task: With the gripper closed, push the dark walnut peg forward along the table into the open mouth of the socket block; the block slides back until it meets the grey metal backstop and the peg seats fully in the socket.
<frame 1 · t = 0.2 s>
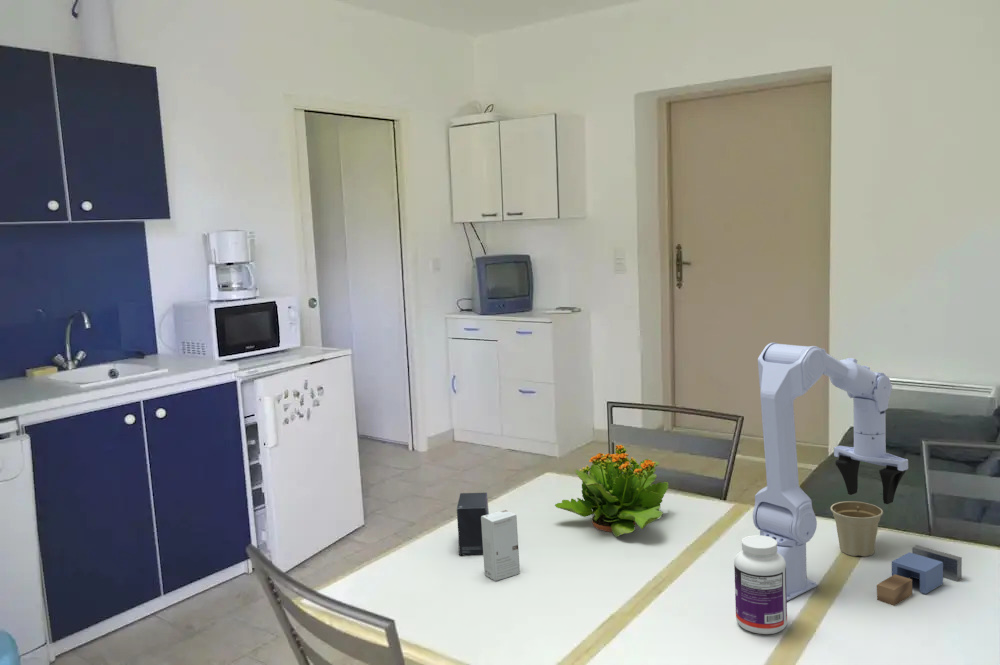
hand: (870, 498, 157), 10 cm above the table, tool pointing down, fingers open, 7 cm apart
skincare box: (502, 574, 156), on the table
flower pot: (856, 552, 156), on the table
small box: (475, 546, 171), on the table
backstop: (936, 573, 144), on the table
socket block: (917, 572, 140), point 2 cm above the table, slide at 0.0 cm
pill bottle: (761, 626, 130), on the table
potted flower: (611, 524, 179), on the table
walnut peg: (894, 598, 136), on the table
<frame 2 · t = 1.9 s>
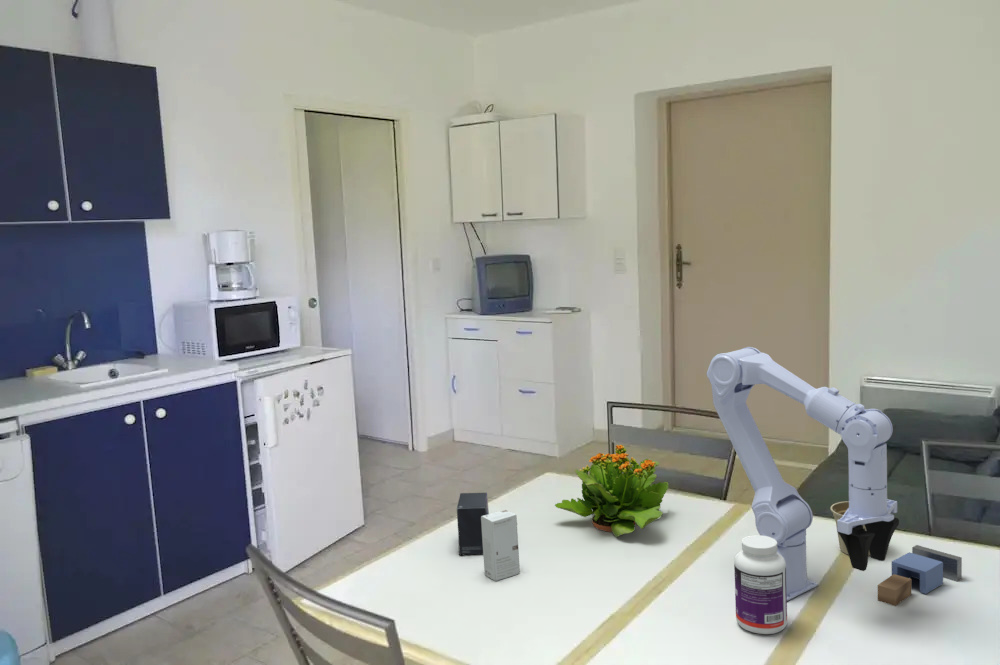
hand: (868, 563, 131), 8 cm above the table, tool pointing down, fingers open, 5 cm apart
nothing on the table moved.
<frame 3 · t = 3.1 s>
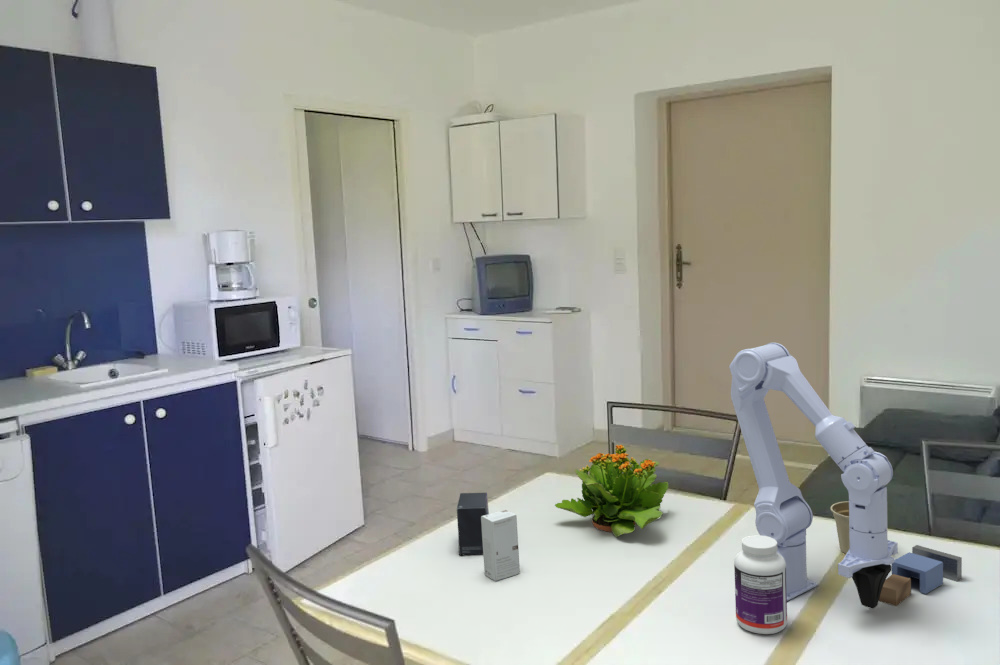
hand: (869, 605, 131), 1 cm above the table, tool pointing down, fingers closed
nothing on the table moved.
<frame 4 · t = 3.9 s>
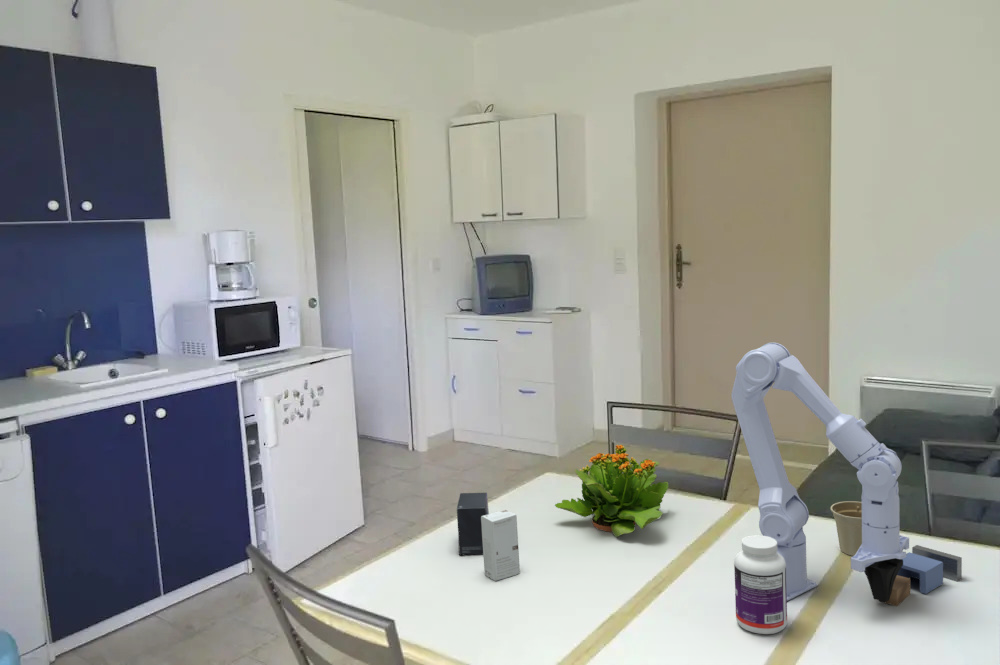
hand: (881, 599, 133), 1 cm above the table, tool pointing down, fingers closed
walnut peg: (894, 598, 136), on the table, touching gripper
everything else where it was.
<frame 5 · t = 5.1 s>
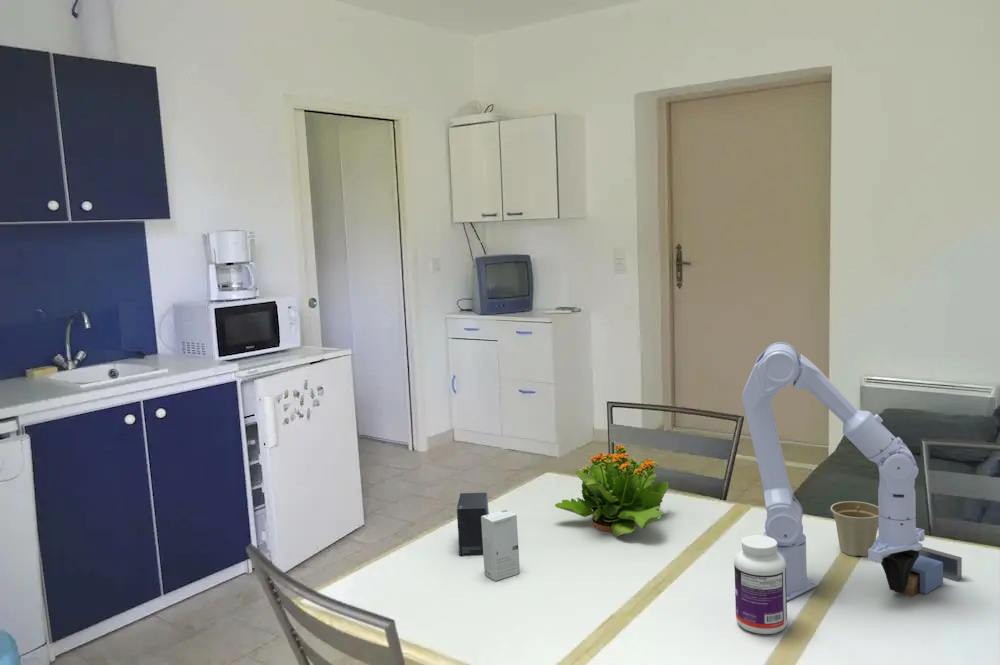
hand: (897, 590, 136), 1 cm above the table, tool pointing down, fingers closed
walnut peg: (910, 588, 139), on the table, touching gripper
everything else where it was.
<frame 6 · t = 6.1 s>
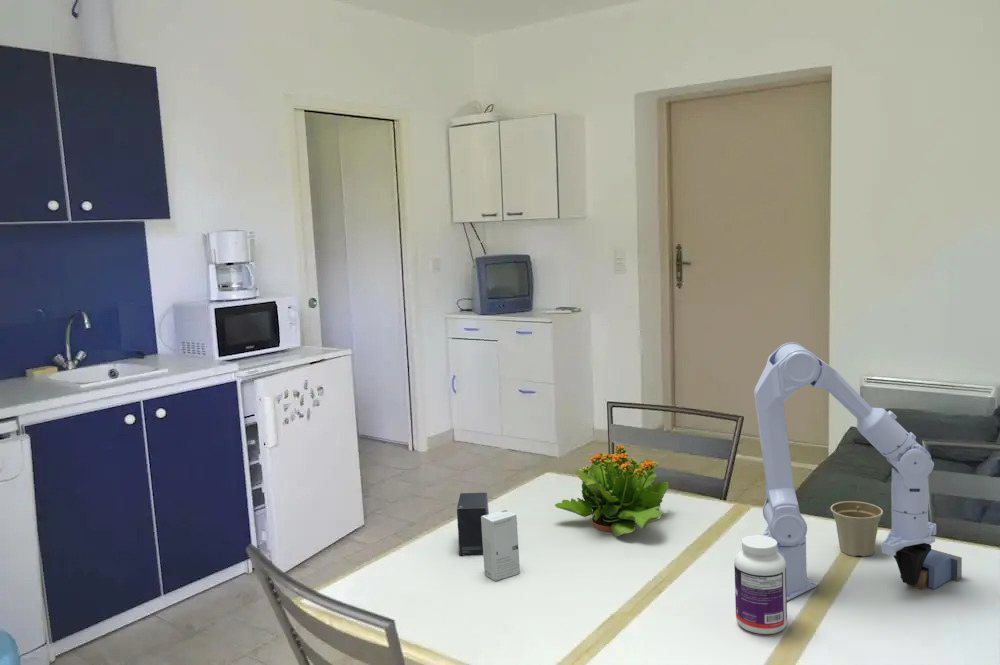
hand: (909, 583, 139), 1 cm above the table, tool pointing down, fingers closed
socket block: (925, 567, 142), point 2 cm above the table, slide at 3.0 cm, touching backstop, walnut peg
walnut peg: (922, 581, 141), on the table, touching gripper, socket block
everything else where it was.
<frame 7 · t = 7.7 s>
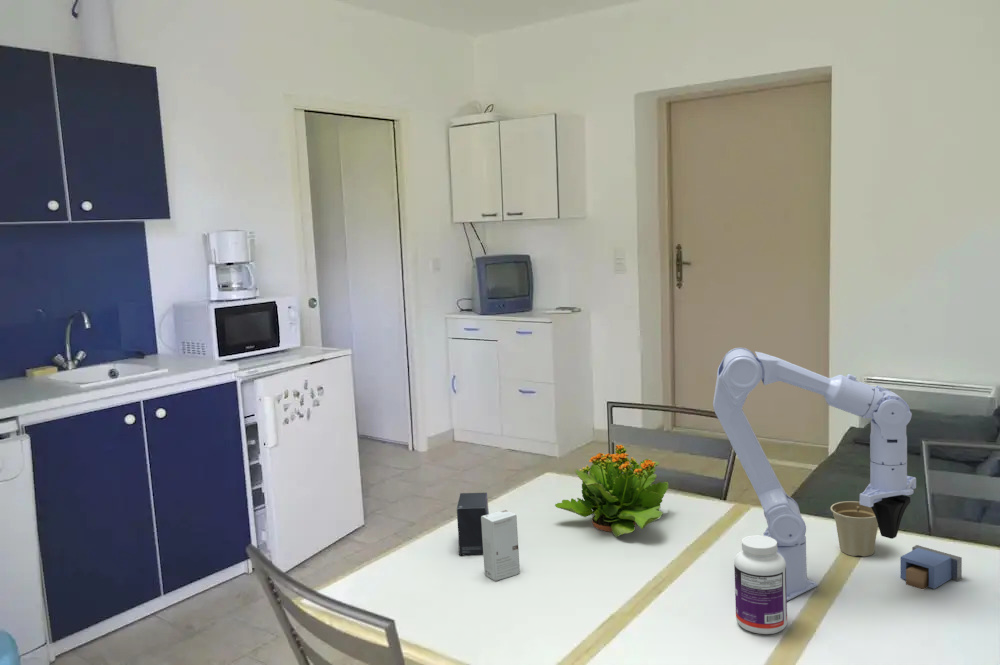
hand: (888, 536, 138), 10 cm above the table, tool pointing down, fingers closed
socket block: (925, 567, 142), point 2 cm above the table, slide at 3.0 cm
walnut peg: (922, 582, 141), on the table
everything else where it was.
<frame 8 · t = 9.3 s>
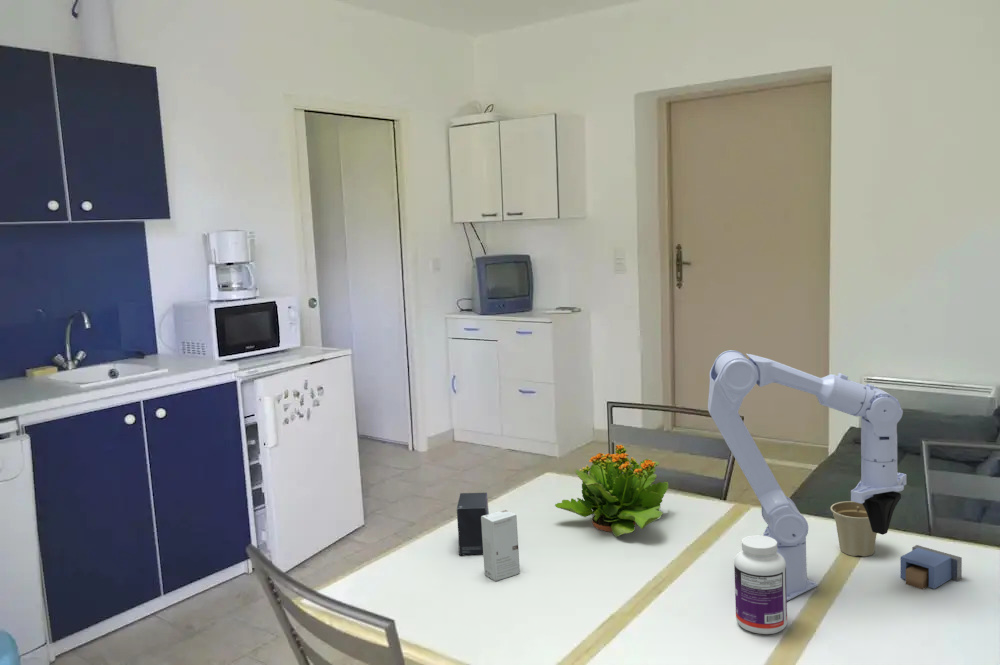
hand: (879, 532, 140), 10 cm above the table, tool pointing down, fingers closed
nothing on the table moved.
at the end: socket block slide at 3.0 cm; walnut peg 0.1 cm from the target spot on the socket block, point 0.0 cm above the socket block's base; the gripper is holding nothing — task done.
